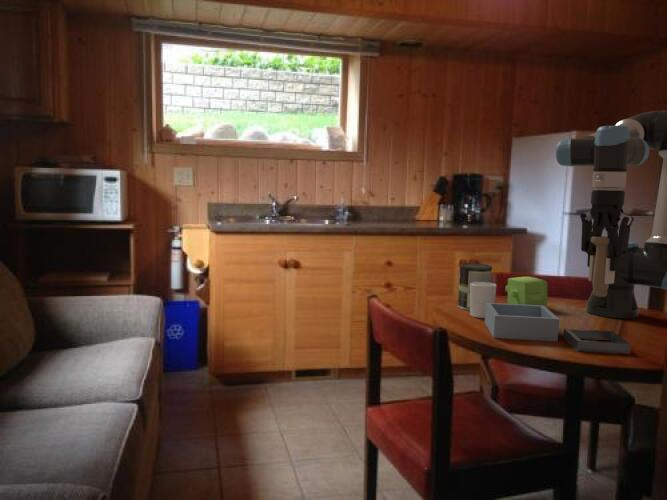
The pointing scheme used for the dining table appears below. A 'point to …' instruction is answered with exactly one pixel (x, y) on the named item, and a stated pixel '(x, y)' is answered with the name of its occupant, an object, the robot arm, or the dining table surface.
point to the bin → (521, 322)
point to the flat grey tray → (613, 346)
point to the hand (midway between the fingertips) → (601, 281)
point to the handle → (600, 265)
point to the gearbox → (527, 291)
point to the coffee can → (468, 275)
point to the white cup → (481, 297)
